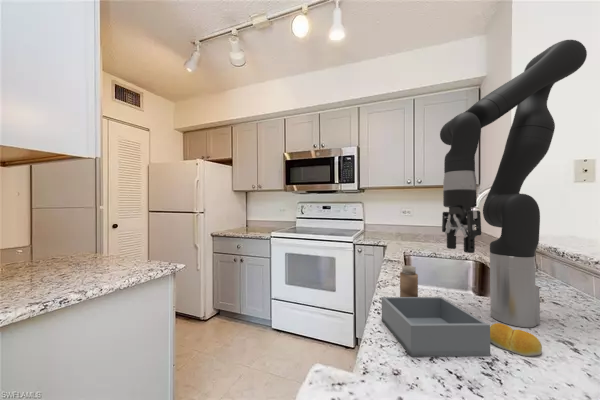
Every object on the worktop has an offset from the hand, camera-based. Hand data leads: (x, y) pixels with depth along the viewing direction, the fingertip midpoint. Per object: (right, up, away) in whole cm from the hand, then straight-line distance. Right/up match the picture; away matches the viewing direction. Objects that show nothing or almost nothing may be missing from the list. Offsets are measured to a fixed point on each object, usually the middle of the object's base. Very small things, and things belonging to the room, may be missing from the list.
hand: (459, 250), depth 67 cm
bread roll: (+3, -18, -12) cm, 22 cm away
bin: (-13, -18, -9) cm, 24 cm away
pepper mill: (-10, -18, +7) cm, 22 cm away
